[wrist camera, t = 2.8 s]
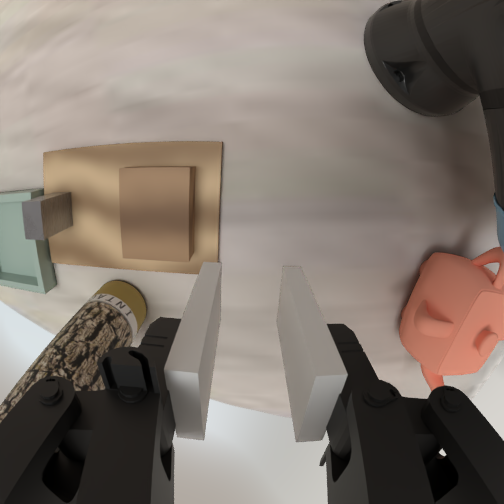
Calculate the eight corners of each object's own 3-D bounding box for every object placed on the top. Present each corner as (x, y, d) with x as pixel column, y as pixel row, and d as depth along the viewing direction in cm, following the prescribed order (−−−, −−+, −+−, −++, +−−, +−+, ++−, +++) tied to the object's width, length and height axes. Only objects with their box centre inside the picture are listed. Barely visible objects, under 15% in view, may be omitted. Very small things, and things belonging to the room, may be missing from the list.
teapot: (459, 218, 30) (529, 250, 18) (478, 301, 34) (528, 343, 22) (363, 290, 33) (411, 356, 21) (399, 362, 37) (435, 423, 25)
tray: (-11, 193, 28) (-24, 197, 25) (44, 188, 28) (30, 192, 25) (1, 275, 32) (-10, 283, 29) (57, 284, 32) (45, 294, 29)
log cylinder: (149, 329, 34) (74, 504, 11) (103, 321, 34) (8, 469, 10) (146, 282, 32) (34, 463, 8) (97, 274, 32) (-34, 418, 8)
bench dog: (52, 192, 28) (21, 202, 22) (71, 191, 28) (40, 201, 22) (55, 225, 29) (25, 239, 23) (73, 225, 29) (44, 240, 23)
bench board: (47, 152, 27) (43, 152, 26) (222, 142, 27) (222, 142, 27) (55, 260, 31) (51, 262, 30) (217, 272, 32) (217, 275, 31)
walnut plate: (130, 166, 27) (119, 168, 24) (195, 166, 27) (189, 167, 24) (133, 249, 30) (122, 258, 27) (194, 252, 30) (188, 262, 27)
